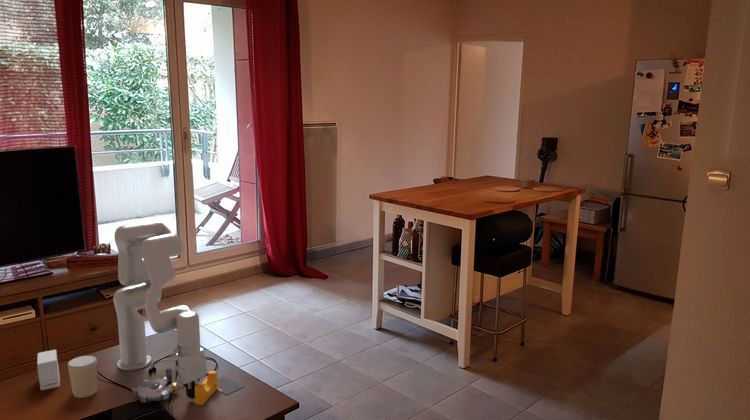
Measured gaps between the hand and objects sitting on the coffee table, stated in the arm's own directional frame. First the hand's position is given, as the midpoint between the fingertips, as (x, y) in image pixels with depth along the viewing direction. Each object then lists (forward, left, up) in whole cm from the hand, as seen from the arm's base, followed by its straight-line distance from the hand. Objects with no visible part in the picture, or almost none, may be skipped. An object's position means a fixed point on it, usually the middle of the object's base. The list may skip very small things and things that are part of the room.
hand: (191, 397), depth 202 cm
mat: (0, +14, -1) cm, 14 cm away
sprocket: (-13, -6, 0) cm, 14 cm away
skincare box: (-51, -26, -2) cm, 57 cm away
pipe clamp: (0, +5, -2) cm, 5 cm away
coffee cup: (-34, -21, -2) cm, 40 cm away
